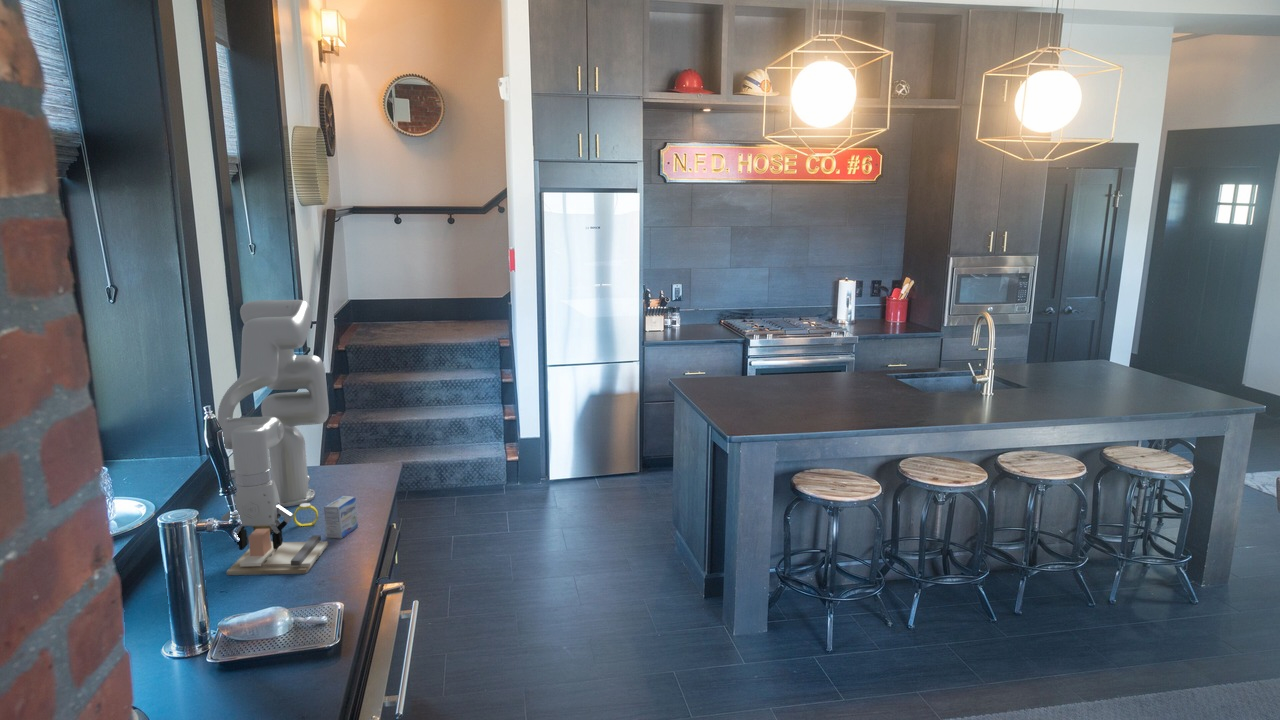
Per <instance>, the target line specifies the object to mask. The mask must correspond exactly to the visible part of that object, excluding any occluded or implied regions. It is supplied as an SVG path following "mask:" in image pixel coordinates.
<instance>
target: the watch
mask: <svg viewBox="0 0 1280 720" xmlns="http://www.w3.org/2000/svg"><path fill="white" fill-rule="evenodd" d="M307 509H311V510H313V512H314V513H315V516H316V517H315V519H314V520H313V521H312V522H308V523H301V522H299V521H298V520H297V517H296V514H297V513H298V511H300V510H307ZM292 518H293V522H294V523H295V525H296V526H298V527H299V528H303V526H304V527H311V526H314V524H316V523H317V520H318V519H319V512H318V509H317V508H316V507H315V506H314V505H312V504H311V503H310V502H306V503H303V504H300V505H299V506H298V507H297V508H296V509H295V511H294V512H293V517H292ZM301 526H302V527H301Z"/></svg>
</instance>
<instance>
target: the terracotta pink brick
mask: <svg viewBox="0 0 1280 720" xmlns="http://www.w3.org/2000/svg"><path fill="white" fill-rule="evenodd" d="M271 537H272V535H271V533H270V529H256V530H255V531H254V530H253V531H252V532H251V533H250V534H249V535H247V539H248V547H249V548H250V554H249V555H248V556H247V557H246V558H245V559H244V560H243V561H242V562H241V563H240V567H244V566H262V564H263V563H264V562H265V561H266V560H267V559H268V558H269V556H270V555H271V554H272V553H273V552H274V551H275V550H276V549H273V540H272V538H271ZM249 548H248V549H249Z"/></svg>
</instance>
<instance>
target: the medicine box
mask: <svg viewBox="0 0 1280 720" xmlns="http://www.w3.org/2000/svg"><path fill="white" fill-rule="evenodd" d="M323 513H324V521H325V522H324V523H325V533H326V538H329V539H339V538H342V539H344V538H345V537H346V536H348V535H349V534H350V533H352V532H353V531H354V530H355V529H357V528H358V526H359V524H358V514H357V513H358V512H357V501H356V497H355V496H350V495H349V496H348V495H341V496H339V497H338V498H335V500H333V501H331V502H329V503H328V504H326V505H325V506H324V507H323ZM347 534H348V535H347ZM344 536H345V537H344ZM343 537H344V538H343Z"/></svg>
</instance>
